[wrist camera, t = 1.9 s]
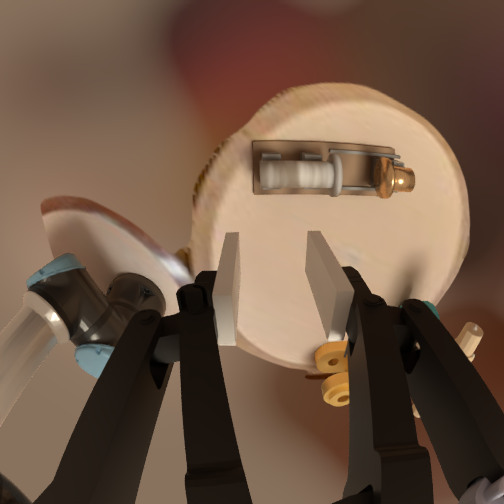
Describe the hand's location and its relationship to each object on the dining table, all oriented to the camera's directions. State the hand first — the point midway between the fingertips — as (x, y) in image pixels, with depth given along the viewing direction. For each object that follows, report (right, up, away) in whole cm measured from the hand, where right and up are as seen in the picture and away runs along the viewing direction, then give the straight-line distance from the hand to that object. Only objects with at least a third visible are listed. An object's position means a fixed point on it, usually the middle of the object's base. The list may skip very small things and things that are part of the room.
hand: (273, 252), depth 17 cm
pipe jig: (+13, +16, +33) cm, 39 cm away
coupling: (+24, +16, +31) cm, 43 cm away
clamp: (+26, -28, +54) cm, 66 cm away
